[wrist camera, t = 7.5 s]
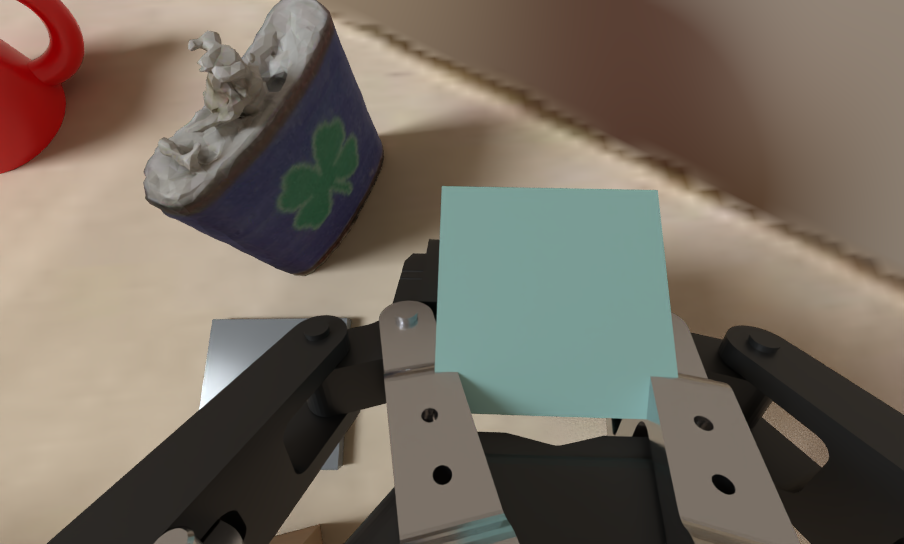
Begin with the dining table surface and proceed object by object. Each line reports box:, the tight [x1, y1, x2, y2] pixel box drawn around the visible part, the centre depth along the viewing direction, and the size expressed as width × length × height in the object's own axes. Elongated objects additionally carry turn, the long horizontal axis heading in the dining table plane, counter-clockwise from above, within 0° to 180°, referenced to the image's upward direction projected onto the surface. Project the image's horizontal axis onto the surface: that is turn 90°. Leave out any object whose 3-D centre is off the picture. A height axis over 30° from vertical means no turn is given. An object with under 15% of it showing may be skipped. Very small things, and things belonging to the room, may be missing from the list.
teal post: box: [435, 186, 678, 419], centre depth 11 cm, size 4×4×10 cm
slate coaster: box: [199, 318, 351, 470], centre depth 18 cm, size 7×7×1 cm
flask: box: [143, 0, 384, 276], centre depth 15 cm, size 9×3×11 cm, turn 151°
